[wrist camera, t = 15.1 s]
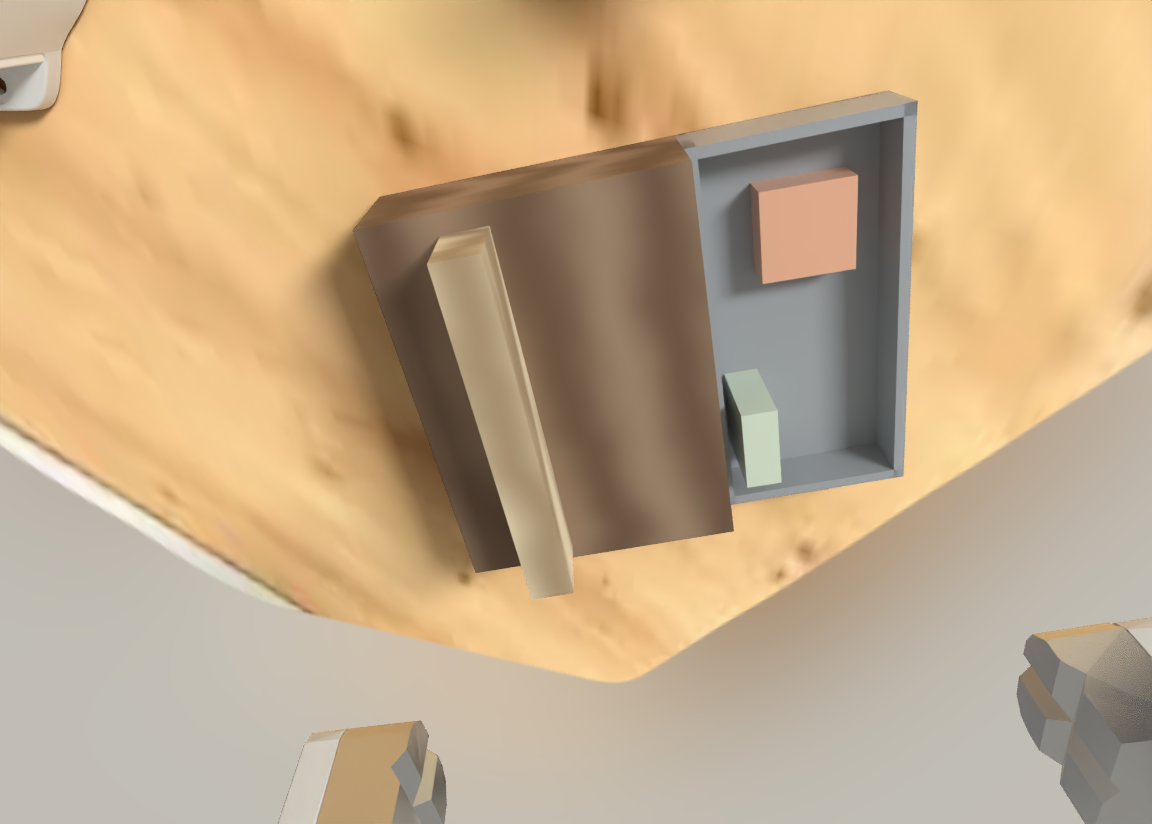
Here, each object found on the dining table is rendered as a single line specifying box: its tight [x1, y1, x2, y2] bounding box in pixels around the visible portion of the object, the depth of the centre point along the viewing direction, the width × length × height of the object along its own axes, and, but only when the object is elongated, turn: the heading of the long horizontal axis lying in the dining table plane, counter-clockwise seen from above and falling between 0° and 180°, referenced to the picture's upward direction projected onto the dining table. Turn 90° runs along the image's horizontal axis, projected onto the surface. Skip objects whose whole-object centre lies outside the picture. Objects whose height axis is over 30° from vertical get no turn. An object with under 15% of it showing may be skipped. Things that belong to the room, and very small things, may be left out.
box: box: [674, 91, 917, 505], centre depth 42 cm, size 11×22×4 cm, turn 11°
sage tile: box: [724, 369, 781, 488], centre depth 44 cm, size 5×5×2 cm
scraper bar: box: [427, 226, 574, 599], centre depth 38 cm, size 2×20×4 cm, turn 11°
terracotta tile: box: [750, 166, 858, 284], centre depth 40 cm, size 5×5×2 cm
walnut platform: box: [353, 136, 734, 573], centre depth 42 cm, size 16×22×6 cm
